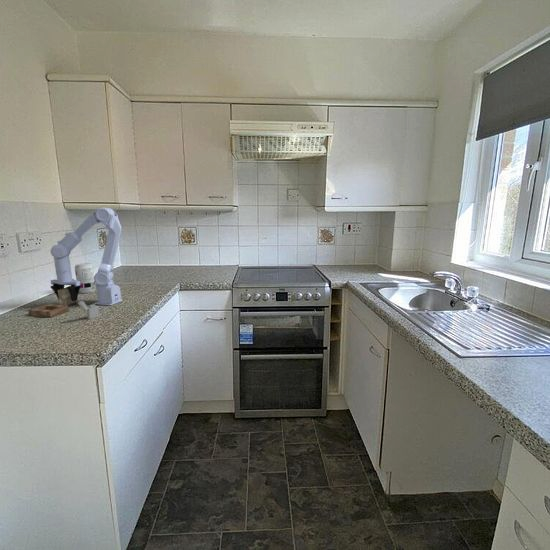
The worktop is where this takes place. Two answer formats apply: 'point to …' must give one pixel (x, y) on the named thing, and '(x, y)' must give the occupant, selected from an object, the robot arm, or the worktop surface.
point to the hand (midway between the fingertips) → (67, 300)
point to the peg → (65, 297)
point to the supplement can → (85, 277)
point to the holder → (48, 310)
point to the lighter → (90, 310)
